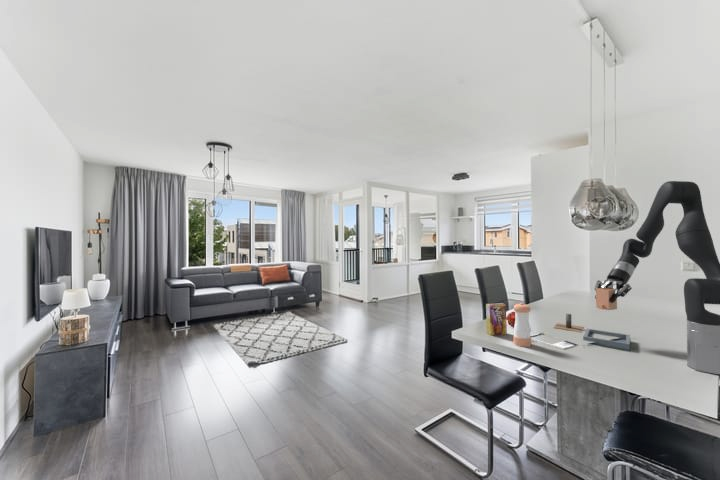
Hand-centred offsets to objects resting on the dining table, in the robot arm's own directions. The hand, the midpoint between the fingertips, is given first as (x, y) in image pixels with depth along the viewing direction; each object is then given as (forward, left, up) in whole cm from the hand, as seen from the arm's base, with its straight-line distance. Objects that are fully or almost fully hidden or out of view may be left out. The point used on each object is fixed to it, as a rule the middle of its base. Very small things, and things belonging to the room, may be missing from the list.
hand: (603, 300), depth 140 cm
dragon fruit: (+2, +38, -20) cm, 43 cm away
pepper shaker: (-25, +28, -20) cm, 43 cm away
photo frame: (-11, +18, -20) cm, 30 cm away
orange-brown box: (+2, -1, -4) cm, 4 cm away
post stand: (+12, +15, -20) cm, 27 cm away
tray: (+2, -1, -20) cm, 20 cm away
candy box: (-17, +42, -20) cm, 50 cm away
